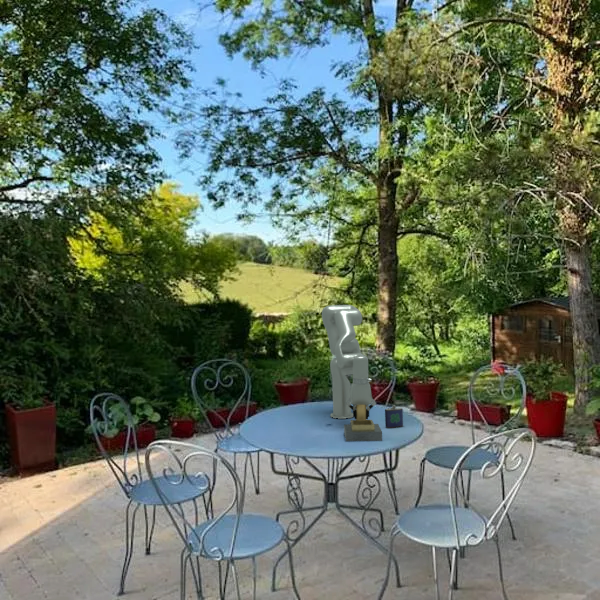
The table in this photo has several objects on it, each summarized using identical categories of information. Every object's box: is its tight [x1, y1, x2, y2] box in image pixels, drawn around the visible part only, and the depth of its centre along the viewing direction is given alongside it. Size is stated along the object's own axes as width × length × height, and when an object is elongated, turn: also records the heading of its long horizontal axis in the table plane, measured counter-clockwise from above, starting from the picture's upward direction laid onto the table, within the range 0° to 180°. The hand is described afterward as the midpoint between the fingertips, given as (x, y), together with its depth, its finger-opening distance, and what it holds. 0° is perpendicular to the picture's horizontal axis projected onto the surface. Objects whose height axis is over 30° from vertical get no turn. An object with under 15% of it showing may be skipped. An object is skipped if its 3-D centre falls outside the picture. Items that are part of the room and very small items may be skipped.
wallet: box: [384, 404, 404, 429], centre depth 258 cm, size 9×3×11 cm, turn 105°
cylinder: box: [355, 405, 367, 420], centre depth 257 cm, size 5×5×11 cm
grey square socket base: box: [343, 419, 383, 442], centre depth 243 cm, size 14×16×6 cm
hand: (361, 418), depth 257 cm, fingers closed on cylinder, 5 cm apart
